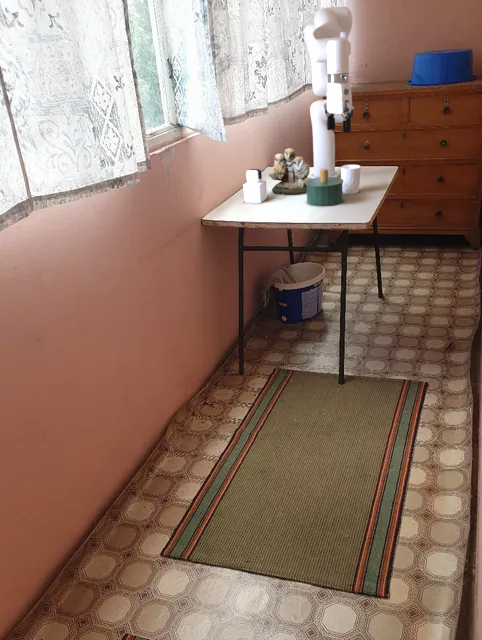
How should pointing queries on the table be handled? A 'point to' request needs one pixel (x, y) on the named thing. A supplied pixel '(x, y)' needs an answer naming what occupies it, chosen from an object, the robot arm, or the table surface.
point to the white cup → (350, 178)
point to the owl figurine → (290, 173)
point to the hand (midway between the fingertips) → (338, 130)
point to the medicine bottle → (254, 187)
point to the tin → (324, 195)
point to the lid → (324, 180)
